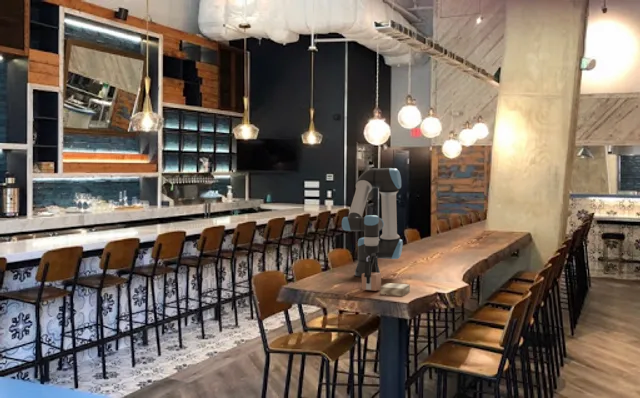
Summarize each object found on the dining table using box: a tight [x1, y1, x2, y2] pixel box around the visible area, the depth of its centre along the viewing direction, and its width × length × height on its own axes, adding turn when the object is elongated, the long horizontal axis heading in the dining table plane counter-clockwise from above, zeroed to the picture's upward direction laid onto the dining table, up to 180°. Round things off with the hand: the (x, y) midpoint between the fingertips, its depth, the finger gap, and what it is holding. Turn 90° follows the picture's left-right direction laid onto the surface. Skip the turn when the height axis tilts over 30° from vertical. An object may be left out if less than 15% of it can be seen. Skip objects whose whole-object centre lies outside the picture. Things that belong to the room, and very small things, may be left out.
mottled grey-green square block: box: [380, 282, 411, 297], centre depth 324 cm, size 12×12×4 cm
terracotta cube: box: [361, 272, 382, 291], centre depth 329 cm, size 8×8×8 cm
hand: (371, 287), depth 329 cm, fingers closed on terracotta cube, 8 cm apart
